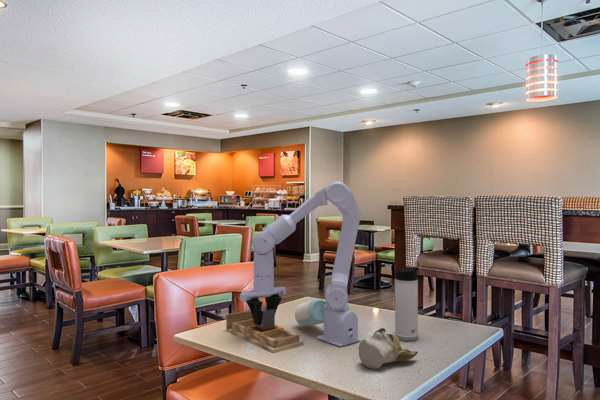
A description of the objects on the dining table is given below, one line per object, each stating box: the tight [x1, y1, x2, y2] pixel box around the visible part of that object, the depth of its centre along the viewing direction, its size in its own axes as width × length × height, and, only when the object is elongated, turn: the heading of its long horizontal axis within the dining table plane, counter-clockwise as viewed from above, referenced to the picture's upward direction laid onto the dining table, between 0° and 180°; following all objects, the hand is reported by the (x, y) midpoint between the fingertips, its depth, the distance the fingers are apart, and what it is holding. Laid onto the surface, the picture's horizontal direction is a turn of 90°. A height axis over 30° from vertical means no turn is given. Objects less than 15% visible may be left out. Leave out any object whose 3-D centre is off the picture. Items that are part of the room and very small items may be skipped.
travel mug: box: [394, 266, 420, 342], centre depth 122 cm, size 6×7×20 cm
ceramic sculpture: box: [358, 327, 419, 370], centre depth 104 cm, size 11×9×15 cm
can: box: [294, 298, 326, 327], centre depth 129 cm, size 7×7×12 cm
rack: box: [225, 309, 304, 354], centre depth 123 cm, size 24×10×5 cm, turn 39°
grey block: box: [255, 305, 276, 332], centre depth 122 cm, size 4×4×6 cm
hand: (263, 322), depth 123 cm, fingers closed on grey block, 4 cm apart
